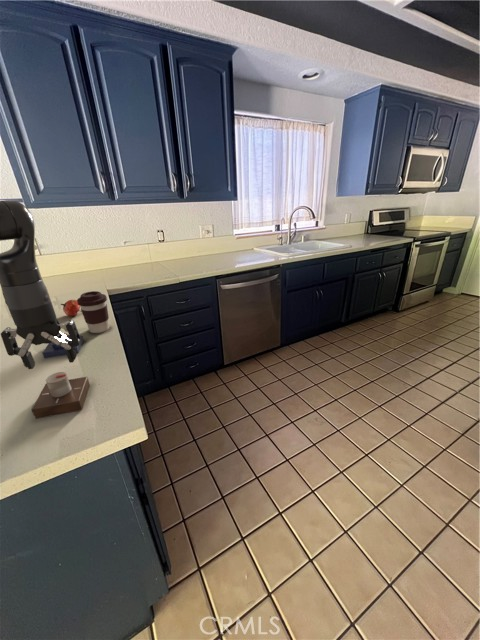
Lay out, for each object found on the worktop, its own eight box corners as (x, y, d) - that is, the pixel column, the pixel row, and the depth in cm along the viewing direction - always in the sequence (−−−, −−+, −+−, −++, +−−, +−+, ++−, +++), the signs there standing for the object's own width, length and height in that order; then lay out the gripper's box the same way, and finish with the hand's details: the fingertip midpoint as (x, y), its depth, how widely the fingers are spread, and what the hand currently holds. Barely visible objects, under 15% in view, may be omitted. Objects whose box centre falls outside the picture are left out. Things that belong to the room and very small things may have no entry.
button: (54, 343, 88) (53, 338, 88) (58, 338, 91) (56, 334, 91) (66, 341, 89) (65, 337, 89) (69, 337, 92) (68, 332, 92)
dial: (48, 398, 65) (42, 383, 63) (54, 387, 69) (48, 372, 67) (69, 395, 66) (63, 379, 64) (73, 384, 70) (68, 369, 68)
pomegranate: (80, 315, 124) (56, 306, 117) (88, 302, 123) (64, 293, 116) (81, 322, 118) (56, 314, 112) (89, 309, 117) (64, 300, 111)
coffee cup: (86, 337, 99) (76, 300, 93) (84, 327, 107) (74, 292, 101) (115, 331, 104) (106, 295, 98) (111, 322, 112) (103, 288, 105)
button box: (44, 358, 87) (40, 348, 85) (53, 345, 94) (49, 335, 93) (78, 353, 89) (75, 343, 88) (84, 340, 97) (81, 331, 95)
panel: (35, 419, 63) (31, 409, 62) (49, 392, 72) (45, 382, 70) (82, 409, 66) (78, 400, 64) (89, 385, 74) (87, 376, 73)
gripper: (70, 292, 62) (88, 351, 69) (-2, 299, 58) (24, 360, 65) (61, 303, 56) (82, 367, 63) (-21, 312, 52) (11, 379, 59)
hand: (52, 363), depth 64 cm, fingers open, 8 cm apart
